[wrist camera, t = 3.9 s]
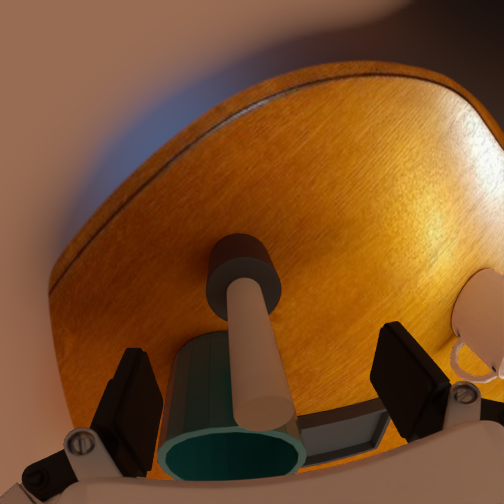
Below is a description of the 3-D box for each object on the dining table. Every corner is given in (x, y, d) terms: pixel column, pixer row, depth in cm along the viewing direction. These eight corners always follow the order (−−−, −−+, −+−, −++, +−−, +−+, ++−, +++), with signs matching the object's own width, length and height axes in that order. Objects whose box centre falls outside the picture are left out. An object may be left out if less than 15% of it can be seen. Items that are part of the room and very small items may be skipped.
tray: (282, 459, 31) (285, 471, 29) (284, 418, 28) (287, 432, 26) (372, 438, 32) (377, 448, 30) (390, 394, 29) (396, 405, 27)
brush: (212, 291, 22) (207, 452, 9) (206, 236, 21) (183, 373, 7) (269, 286, 22) (322, 438, 9) (267, 230, 21) (338, 356, 8)
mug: (489, 251, 24) (548, 283, 15) (501, 297, 27) (546, 330, 18) (422, 328, 26) (473, 381, 17) (443, 363, 29) (482, 408, 20)
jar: (183, 411, 26) (177, 492, 17) (160, 334, 23) (136, 427, 13) (281, 403, 27) (301, 483, 18) (281, 325, 24) (312, 416, 14)
